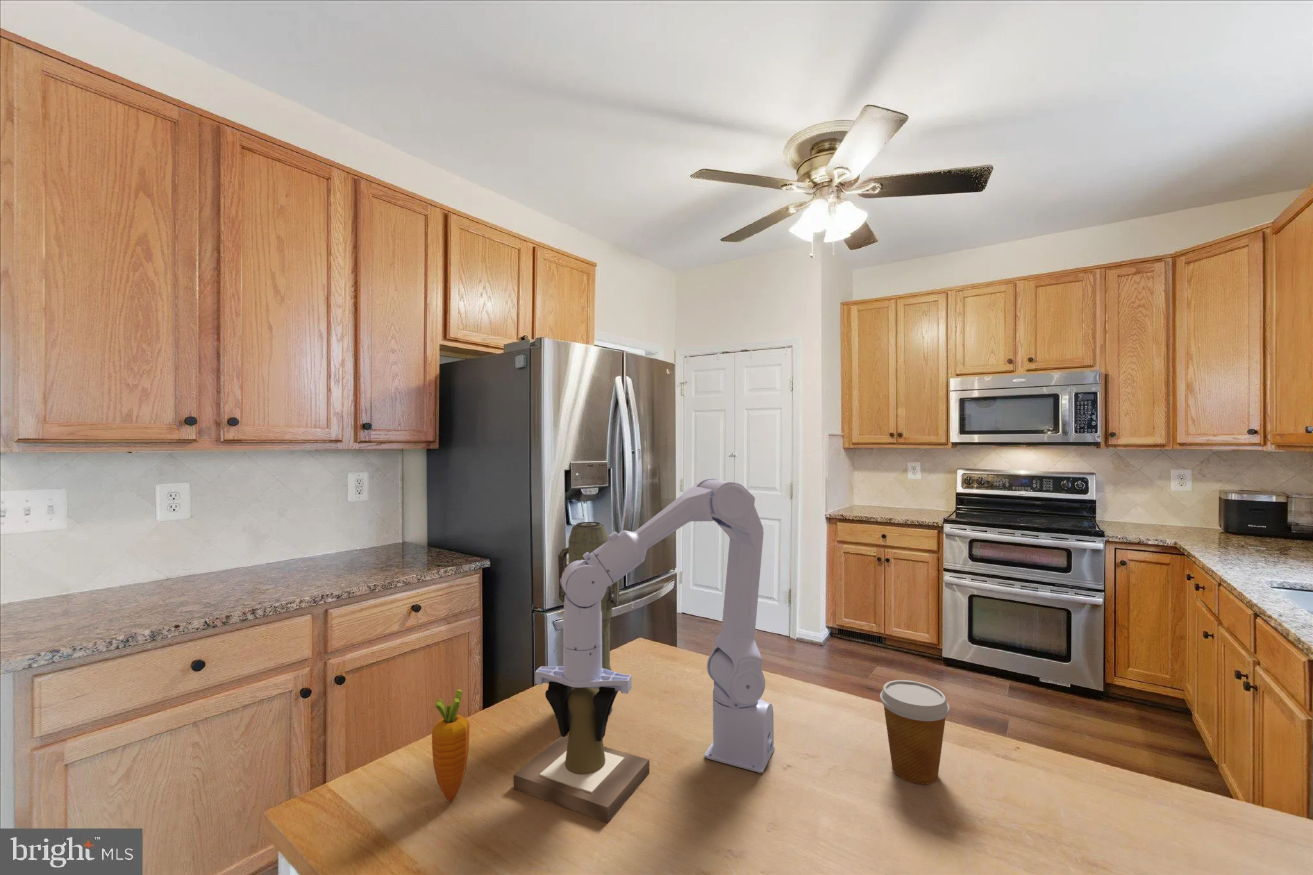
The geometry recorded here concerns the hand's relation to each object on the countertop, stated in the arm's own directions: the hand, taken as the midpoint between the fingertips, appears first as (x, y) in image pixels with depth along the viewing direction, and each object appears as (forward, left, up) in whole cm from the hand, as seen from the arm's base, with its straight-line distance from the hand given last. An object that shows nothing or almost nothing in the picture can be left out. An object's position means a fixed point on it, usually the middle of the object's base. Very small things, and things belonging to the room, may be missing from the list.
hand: (582, 735), depth 80 cm
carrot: (+14, +12, -7) cm, 20 cm away
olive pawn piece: (0, -1, -5) cm, 5 cm away
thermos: (+11, -18, -7) cm, 22 cm away
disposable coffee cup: (-44, -24, -7) cm, 51 cm away
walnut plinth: (0, 0, -7) cm, 7 cm away
